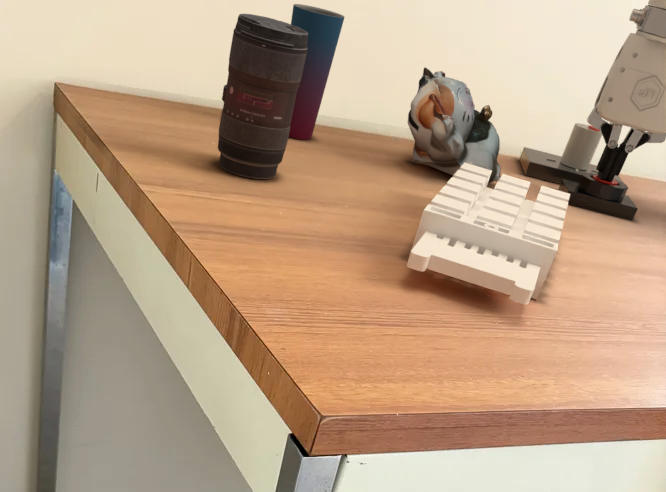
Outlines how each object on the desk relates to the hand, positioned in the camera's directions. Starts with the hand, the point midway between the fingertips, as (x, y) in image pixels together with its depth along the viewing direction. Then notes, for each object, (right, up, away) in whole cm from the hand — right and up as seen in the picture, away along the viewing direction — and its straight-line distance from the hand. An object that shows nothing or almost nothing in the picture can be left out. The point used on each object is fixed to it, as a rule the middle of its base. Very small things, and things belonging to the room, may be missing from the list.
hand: (604, 178), depth 116 cm
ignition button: (0, -1, +1) cm, 2 cm away
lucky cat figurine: (-22, +1, 0) cm, 22 cm away
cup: (-44, +6, 0) cm, 44 cm away
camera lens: (-50, -8, -20) cm, 54 cm away
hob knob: (0, +7, +12) cm, 14 cm away
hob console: (0, +6, +13) cm, 15 cm away
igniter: (-1, -3, +2) cm, 4 cm away
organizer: (-25, -20, -28) cm, 42 cm away
